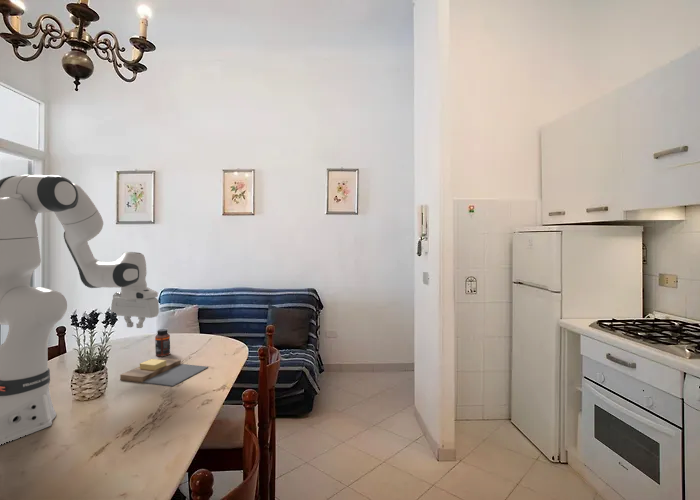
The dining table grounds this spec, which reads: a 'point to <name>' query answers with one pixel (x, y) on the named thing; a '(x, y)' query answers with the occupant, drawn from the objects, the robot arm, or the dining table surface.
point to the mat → (175, 375)
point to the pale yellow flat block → (153, 364)
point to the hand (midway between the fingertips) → (134, 327)
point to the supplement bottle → (162, 343)
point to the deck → (148, 371)
